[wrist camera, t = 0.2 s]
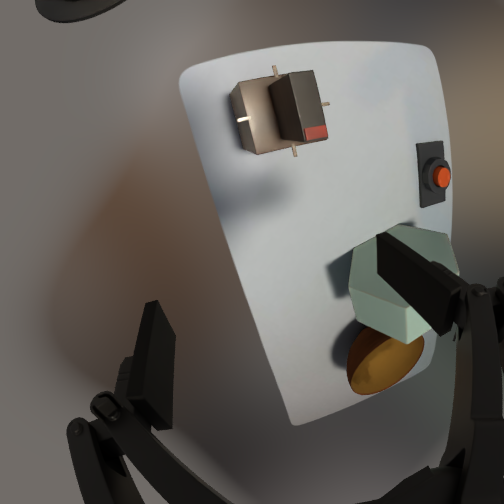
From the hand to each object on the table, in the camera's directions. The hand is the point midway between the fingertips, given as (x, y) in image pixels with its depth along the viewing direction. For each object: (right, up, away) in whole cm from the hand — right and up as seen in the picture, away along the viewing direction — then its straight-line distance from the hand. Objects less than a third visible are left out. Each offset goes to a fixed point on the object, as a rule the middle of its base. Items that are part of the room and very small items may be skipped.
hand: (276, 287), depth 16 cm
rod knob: (+2, +16, +11) cm, 20 cm away
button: (+32, +16, +25) cm, 44 cm away
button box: (+32, +17, +27) cm, 45 cm away
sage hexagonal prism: (+21, +2, +32) cm, 39 cm away
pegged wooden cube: (0, +21, +20) cm, 28 cm away
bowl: (+24, -16, +41) cm, 50 cm away
